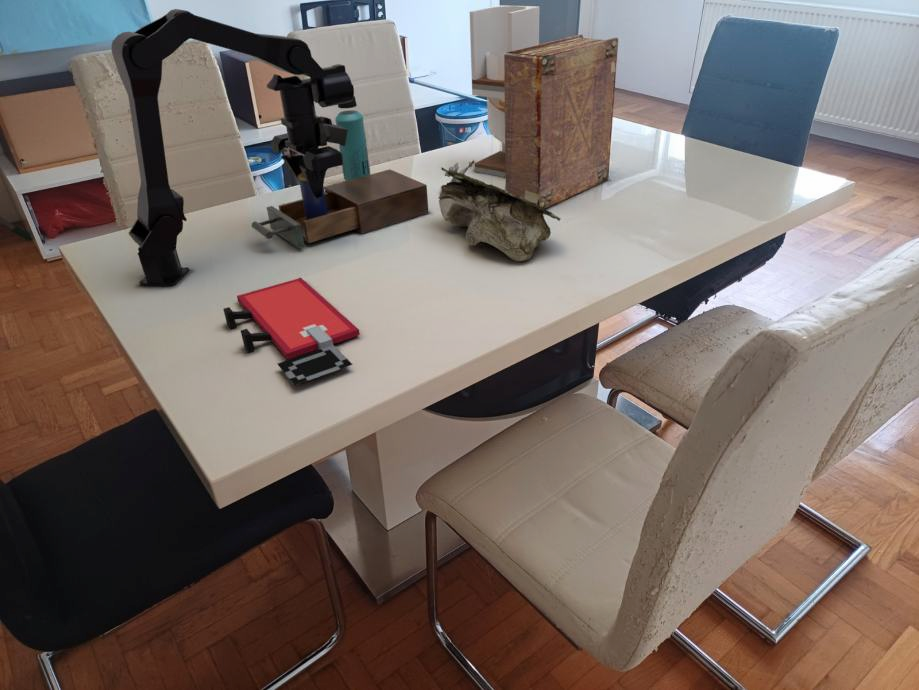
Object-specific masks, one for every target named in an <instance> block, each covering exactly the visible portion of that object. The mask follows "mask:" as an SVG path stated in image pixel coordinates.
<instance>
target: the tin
mask: <svg viewBox="0 0 919 690" xmlns="http://www.w3.org/2000/svg"><path fill="white" fill-rule="evenodd" d="M298 179H299V182H300V183H299V182H298V183H299V187H300V193H301V199H303V205H304V211H305V216H306V220H309V219H312V218H316V217H319V216H323V215H326V214H328V211H327V205H326V199H325V189H324V187H325V186H324V185H323V190H322V196H321V197H320V198H316V197H315V195H314V194H313V192H312V190H311V188H310V186H309V184H308V182H307V180H306V178H305V176H304V174H303V172H302V173H300V174H299V175H298Z"/></svg>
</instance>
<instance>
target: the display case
mask: <svg viewBox="0 0 919 690" xmlns="http://www.w3.org/2000/svg"><path fill="white" fill-rule="evenodd" d="M540 9H541V6H538V5H537V6H535V5H533V6H532V5H499V4H498V5H494V6H488V7H484V8H479V9H476V10H475V9H474V10H471V11H469V35H470V37H469V39H470V67H471V68H470V69H471V96H475V97H485V98H486V103H487V104H486V106H487V129H488V131H489V133H490V134H491V136H492V137H494V138H495V139H496V140H497V141H499V142H501V150H499V151H497V152H495V153H493V154H490V155H488V156H487V157H485V158H483V159H480V160H478V161H475V162H474V164H473V166H474V172H475V173H480V174H486V175H491V176H495V177H502V178H506V175H505V82H504V54H505V53H507V52H511V51H515V50H519V49H523V48H527V47H532V46H536V45H540V11H541V10H540Z"/></svg>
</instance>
